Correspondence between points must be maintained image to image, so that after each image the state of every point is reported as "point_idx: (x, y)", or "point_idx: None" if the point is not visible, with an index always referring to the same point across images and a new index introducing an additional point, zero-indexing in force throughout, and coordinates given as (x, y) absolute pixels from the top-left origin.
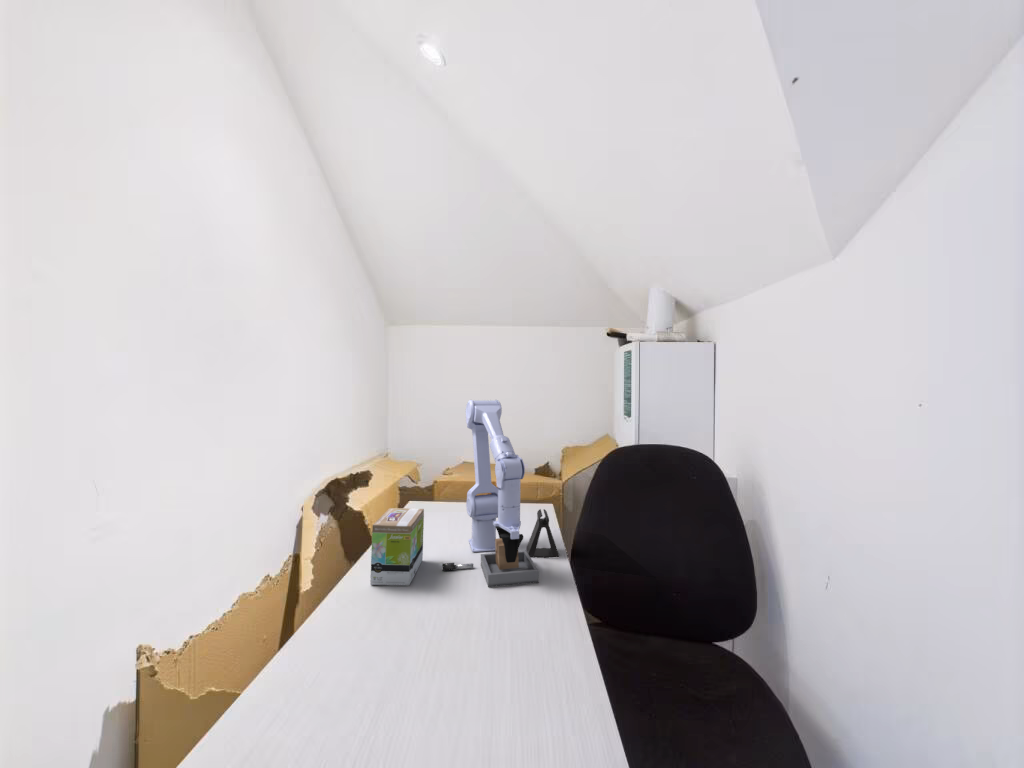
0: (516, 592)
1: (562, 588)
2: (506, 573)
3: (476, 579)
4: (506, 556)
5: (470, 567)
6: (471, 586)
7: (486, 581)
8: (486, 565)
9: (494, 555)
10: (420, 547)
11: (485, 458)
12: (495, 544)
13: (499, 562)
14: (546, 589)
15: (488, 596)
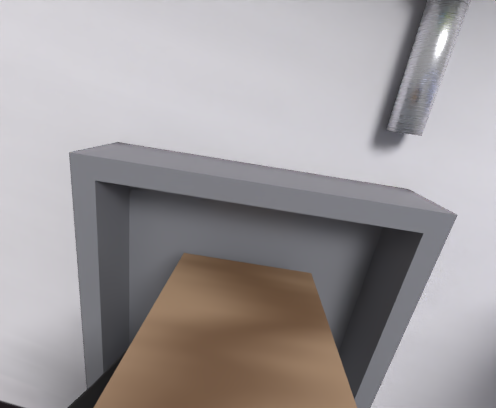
0: (49, 253)
1: (62, 404)
2: (78, 269)
3: (233, 105)
4: (115, 362)
5: (394, 109)
6: (151, 44)
7: (176, 152)
8: (231, 190)
9: (390, 296)
10: None
11: None
12: (340, 384)
13: (169, 282)
14: (61, 360)
15: (19, 111)
